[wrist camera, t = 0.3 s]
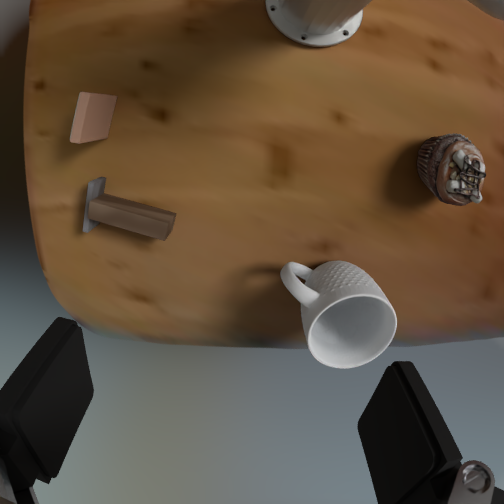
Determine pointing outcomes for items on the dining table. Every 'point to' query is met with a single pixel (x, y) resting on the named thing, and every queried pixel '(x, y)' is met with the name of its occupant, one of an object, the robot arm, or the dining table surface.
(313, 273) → the mug
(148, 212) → the scraper
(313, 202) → the dining table surface
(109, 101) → the tile
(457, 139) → the cupcake
